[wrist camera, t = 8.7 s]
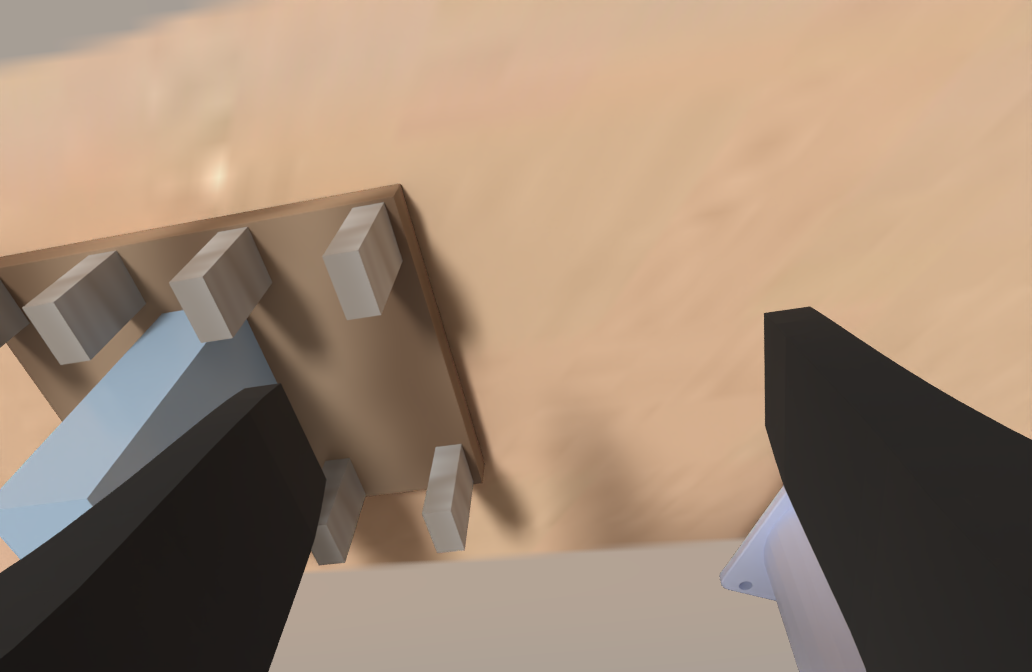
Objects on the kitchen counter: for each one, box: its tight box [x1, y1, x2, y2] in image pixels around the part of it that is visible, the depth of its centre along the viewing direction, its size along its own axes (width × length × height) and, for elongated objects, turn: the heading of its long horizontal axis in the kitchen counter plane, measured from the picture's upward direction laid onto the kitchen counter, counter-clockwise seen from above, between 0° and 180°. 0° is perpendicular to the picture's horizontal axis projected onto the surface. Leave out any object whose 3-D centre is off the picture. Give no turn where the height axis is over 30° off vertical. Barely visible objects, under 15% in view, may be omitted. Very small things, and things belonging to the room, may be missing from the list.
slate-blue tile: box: [0, 310, 277, 560], centre depth 19 cm, size 2×6×8 cm, turn 11°
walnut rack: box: [0, 184, 485, 565], centre depth 22 cm, size 14×11×4 cm
